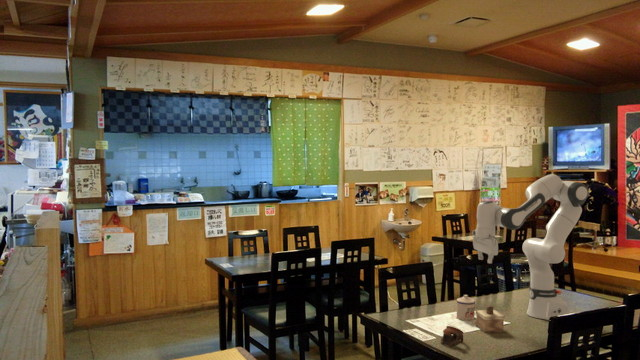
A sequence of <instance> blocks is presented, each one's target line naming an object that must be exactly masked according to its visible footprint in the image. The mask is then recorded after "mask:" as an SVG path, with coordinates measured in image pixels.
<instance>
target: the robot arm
mask: <svg viewBox="0 0 640 360" xmlns="http://www.w3.org/2000/svg"><path fill="white" fill-rule="evenodd" d="M525 197H526V200H525V202H523V203H522V204H521V205H520V206H519V207H516V208H508V207H504V206H501V205H499V204H497V203H496V202H495V201H494V200H483V201H481V202H479V203H478V205H477V209H476V221H477V222H476V223H477V224H476V229H474V230H472V232H471V233H472V235H473V236H472V246H473V249H474V250H475V251H477V256H478V260H481V261H483V260H484V255H483V253H484V254H486V255H487V256H488V257H487V260H486V262H487V264H489V265H490V264H493V260H494V256H498V254H499V243H498V240H497V239H496V226H497V227H501V228H505V229H508V230H511V231H516V230H518V229H520V228H521V227H522V226H523V225H524V223H525V222H526V220H527V219H528V218H530V217H531V216H532V215H533V214H534V213H535V212H537V211H538V210H539V209H540V208H541V207H543V205H544V204H545V203H546V202H547V201H549V200H550V199H552V200H553V201H556V202H557V201H558V202H560V205H559V208H558V209H557V210H556V211H555V212H554V214H553V215H552V216H551V218H550V220H549V221H548V223H546V225H545V230H546V235H545V237H544V238H538V237H530V238H529V237H528V238H526V239H525V240H524V242H523V243H522V252H523V253H524V256H525V257H526V260H527V263H528V265H529V272H530V286H529V293H528V294H529V301H528V302H529V303H528V306H527V311H526V315H527V316H530V317H531V318H536V319H542V320H546V321H550V320H549V318H550V317H551V316H556V315H563V314H569V313H570V307H569V306H568V303H567V302H565V301H564V299H561V298H560V297H559V296H558V295H561V294H562V290H559V289H556V288H555V274H554V271H553V269H552V268H551V266H550V265H551V264H559V263H561V262H563V260H564V259H565V257H566V251H565V243H566V240H567V238H568V236H570V233H572V230H573V229H574V227H575V226H576V224H577V223H578V221H579V220H580V217H581V215H582V212H583V208H582V206H583V205H584V204H585V202H586V200H587V199H588V197H589V188H588V186H587V185H586V184H584V183H582V182H579V181H574V180H573V181H572V180H562V179H561V177H560V176H558V175H557V174H554V173H550V174H547V175H545V176H543V177H540V178H539V179H537V180H535V181H534V182H532V183H531V184H530V185H528V186H527V188H526V189H525Z"/></svg>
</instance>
